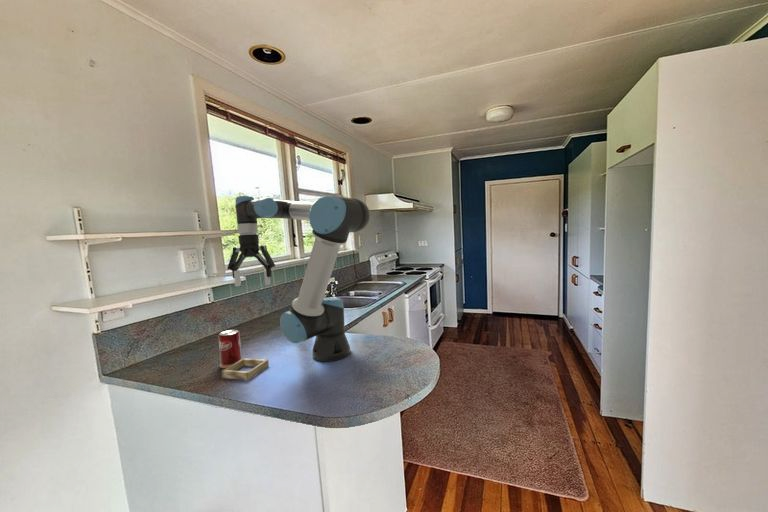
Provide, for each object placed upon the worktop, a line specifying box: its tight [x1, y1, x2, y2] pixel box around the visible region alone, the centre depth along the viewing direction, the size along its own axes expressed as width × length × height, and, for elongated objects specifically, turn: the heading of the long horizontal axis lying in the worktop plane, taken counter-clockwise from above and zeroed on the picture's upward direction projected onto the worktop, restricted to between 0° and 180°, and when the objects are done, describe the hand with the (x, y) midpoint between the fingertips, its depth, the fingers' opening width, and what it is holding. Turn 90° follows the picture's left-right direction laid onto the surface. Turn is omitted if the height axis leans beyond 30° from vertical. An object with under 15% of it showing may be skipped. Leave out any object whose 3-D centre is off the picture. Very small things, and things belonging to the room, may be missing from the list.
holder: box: [221, 357, 270, 381], centre depth 110 cm, size 11×11×2 cm
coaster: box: [219, 362, 229, 369], centre depth 118 cm, size 8×8×1 cm
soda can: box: [218, 329, 243, 366], centre depth 118 cm, size 7×7×12 cm
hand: (252, 285), depth 126 cm, fingers open, 13 cm apart
